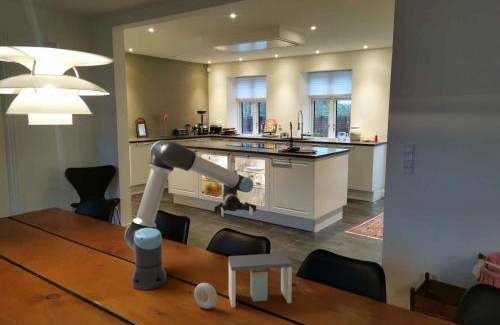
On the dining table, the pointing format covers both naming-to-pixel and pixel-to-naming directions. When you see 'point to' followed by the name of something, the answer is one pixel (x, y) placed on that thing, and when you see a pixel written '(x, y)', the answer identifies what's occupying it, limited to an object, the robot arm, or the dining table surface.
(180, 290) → the dining table surface
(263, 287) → the pale teal block
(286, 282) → the stand
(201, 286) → the donut
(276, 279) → the dining table surface
